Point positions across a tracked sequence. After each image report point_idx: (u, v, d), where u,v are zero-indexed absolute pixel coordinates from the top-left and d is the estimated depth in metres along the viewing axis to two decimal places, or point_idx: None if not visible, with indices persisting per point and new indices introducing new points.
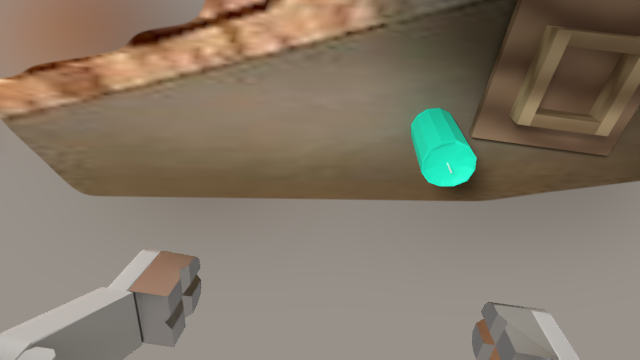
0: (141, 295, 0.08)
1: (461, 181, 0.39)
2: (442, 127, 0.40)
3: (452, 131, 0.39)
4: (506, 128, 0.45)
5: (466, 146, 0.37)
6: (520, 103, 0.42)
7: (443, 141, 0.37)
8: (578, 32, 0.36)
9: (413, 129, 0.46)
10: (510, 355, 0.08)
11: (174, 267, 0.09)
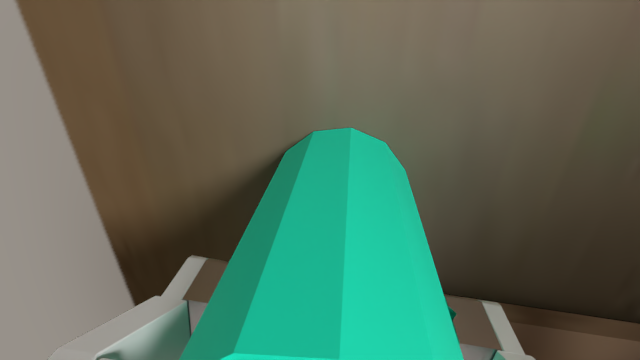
0: (194, 303, 0.08)
1: None
2: None
3: None
4: None
5: None
6: None
7: None
8: None
9: (354, 145, 0.12)
10: None
11: None
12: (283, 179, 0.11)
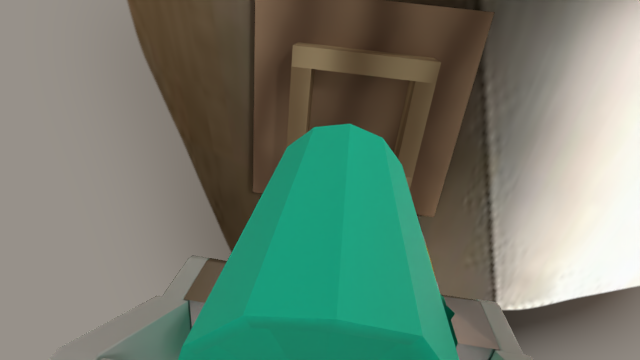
0: (195, 303, 0.08)
1: None
2: None
3: None
4: (277, 44, 0.28)
5: None
6: (323, 47, 0.26)
7: None
8: (432, 91, 0.25)
9: (353, 139, 0.13)
10: None
11: None
12: (285, 171, 0.12)
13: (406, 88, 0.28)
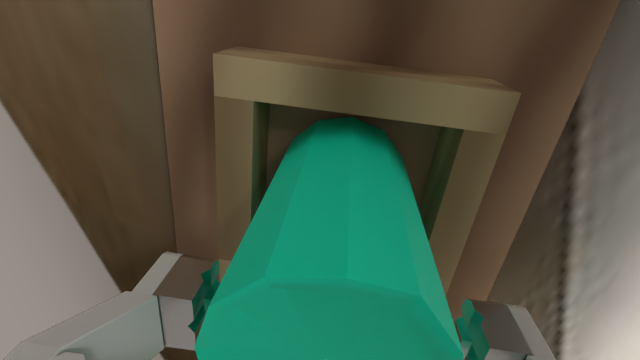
0: (165, 299, 0.08)
1: None
2: None
3: None
4: (198, 50, 0.15)
5: None
6: (280, 57, 0.13)
7: (458, 346, 0.07)
8: (497, 148, 0.13)
9: (356, 131, 0.14)
10: (485, 351, 0.08)
11: (196, 270, 0.09)
12: (293, 159, 0.13)
13: (437, 133, 0.15)
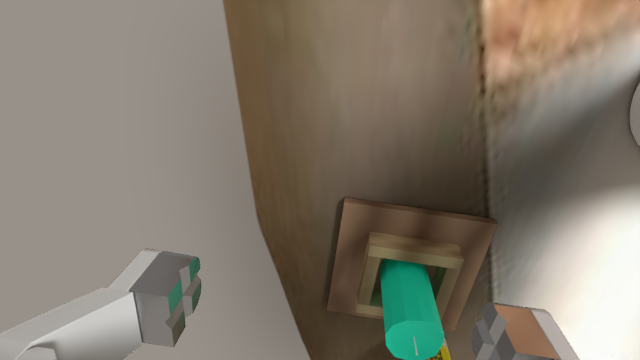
0: (141, 295, 0.08)
1: (393, 352, 0.36)
2: None
3: None
4: (354, 232, 0.42)
5: (436, 352, 0.35)
6: (388, 241, 0.40)
7: (443, 333, 0.34)
8: (458, 273, 0.40)
9: (411, 263, 0.41)
10: (510, 355, 0.08)
11: (174, 267, 0.09)
12: (393, 276, 0.40)
13: None
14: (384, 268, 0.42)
